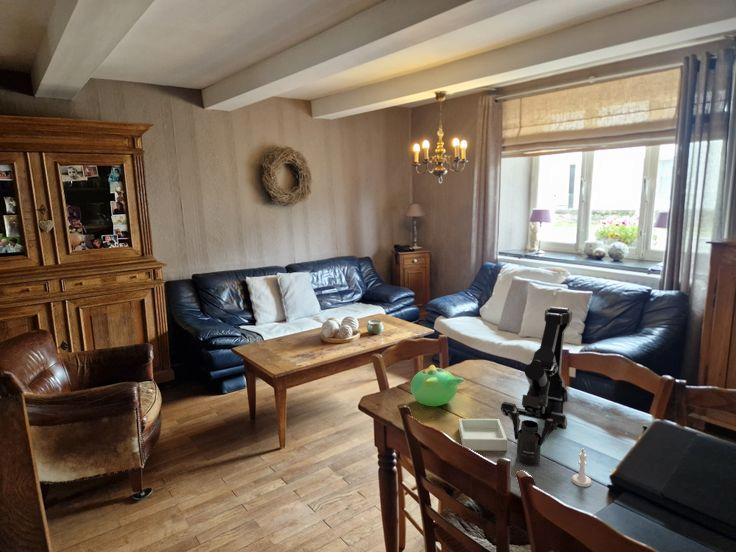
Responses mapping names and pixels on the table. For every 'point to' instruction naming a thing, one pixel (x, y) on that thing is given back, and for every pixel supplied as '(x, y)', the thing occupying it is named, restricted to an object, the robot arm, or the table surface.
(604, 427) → the table surface
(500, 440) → the tray
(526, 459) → the supplement bottle
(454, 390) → the toy bird
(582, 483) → the chess piece
